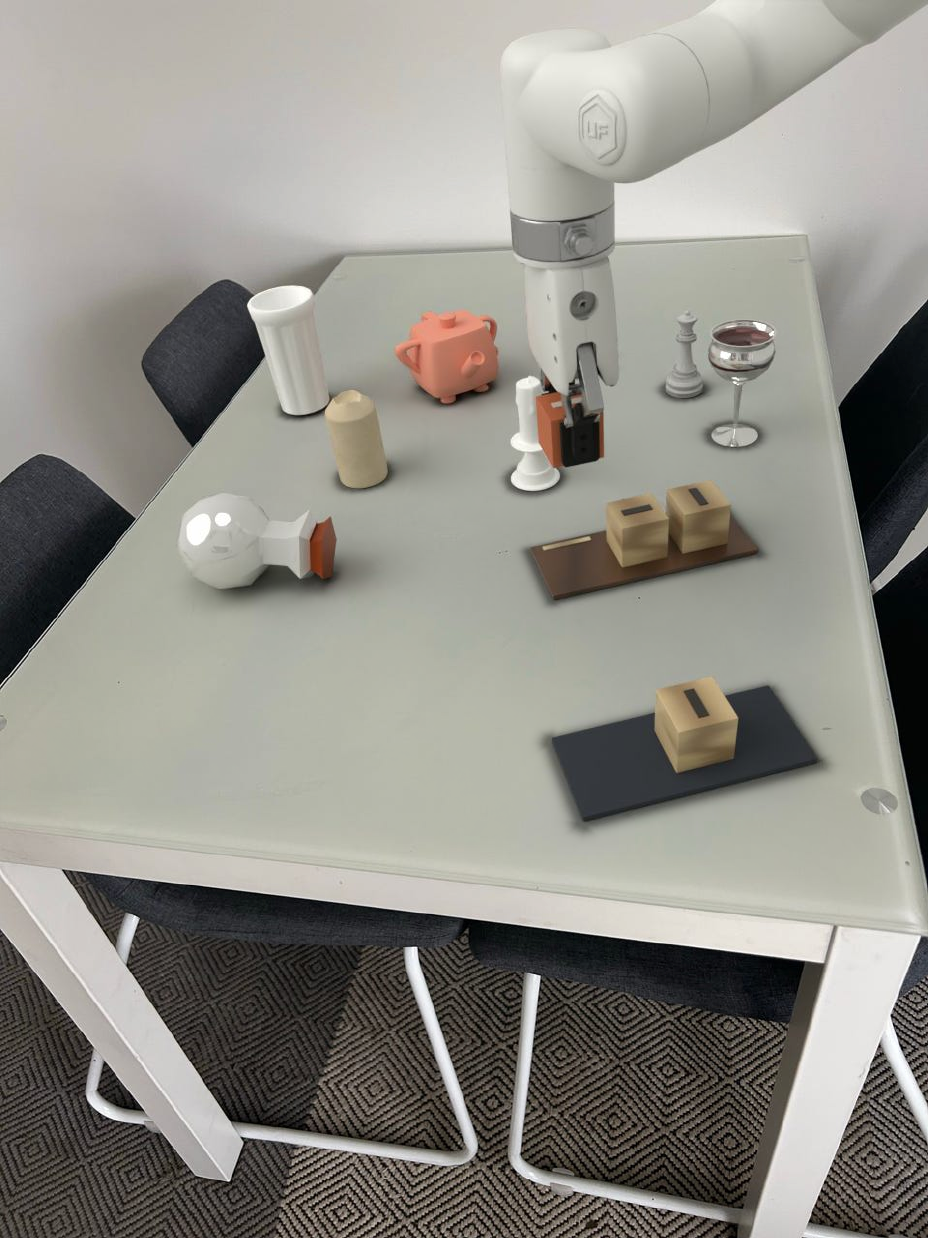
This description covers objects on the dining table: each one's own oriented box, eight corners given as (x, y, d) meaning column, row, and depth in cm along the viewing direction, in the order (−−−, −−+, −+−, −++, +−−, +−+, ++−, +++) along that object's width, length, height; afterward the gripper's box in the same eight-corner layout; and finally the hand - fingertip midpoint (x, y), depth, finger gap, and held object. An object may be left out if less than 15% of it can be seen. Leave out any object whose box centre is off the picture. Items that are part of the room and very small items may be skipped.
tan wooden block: (708, 518, 92) (711, 478, 89) (727, 543, 89) (731, 503, 86) (664, 527, 92) (666, 488, 89) (682, 554, 88) (684, 513, 85)
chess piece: (708, 394, 111) (713, 313, 105) (673, 401, 111) (676, 321, 105) (694, 378, 115) (698, 299, 108) (660, 385, 114) (662, 306, 108)
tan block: (709, 716, 73) (712, 674, 70) (734, 759, 69) (738, 717, 66) (654, 730, 72) (655, 688, 69) (676, 773, 69) (678, 731, 66)
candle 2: (522, 462, 105) (514, 362, 97) (567, 468, 103) (562, 367, 95) (503, 487, 101) (493, 386, 93) (549, 495, 99) (542, 392, 91)
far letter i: (650, 531, 92) (651, 491, 89) (667, 557, 88) (669, 517, 85) (606, 541, 91) (605, 501, 88) (622, 567, 88) (621, 527, 85)
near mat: (767, 689, 75) (768, 684, 74) (817, 762, 69) (818, 758, 68) (551, 741, 73) (551, 737, 73) (583, 821, 67) (582, 817, 67)
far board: (722, 508, 94) (722, 503, 94) (757, 553, 88) (758, 548, 87) (530, 551, 92) (530, 546, 92) (553, 600, 86) (553, 595, 86)
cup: (347, 407, 119) (323, 298, 110) (288, 428, 117) (259, 318, 108) (323, 384, 125) (298, 279, 116) (266, 404, 123) (237, 298, 113)
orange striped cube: (587, 432, 82) (586, 384, 79) (604, 457, 79) (603, 408, 76) (538, 442, 82) (535, 395, 79) (553, 468, 78) (550, 419, 75)
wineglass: (763, 453, 101) (774, 348, 93) (699, 448, 103) (705, 345, 95) (768, 421, 105) (780, 319, 97) (707, 418, 107) (713, 317, 100)
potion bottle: (195, 581, 97) (337, 592, 96) (156, 587, 87) (313, 600, 86) (199, 491, 96) (342, 502, 95) (160, 487, 86) (319, 499, 85)
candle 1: (386, 486, 104) (370, 405, 98) (337, 491, 104) (318, 411, 98) (390, 460, 108) (374, 381, 102) (343, 464, 109) (325, 386, 102)
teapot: (486, 413, 114) (478, 338, 108) (398, 405, 118) (385, 333, 112) (516, 369, 122) (510, 297, 116) (432, 363, 126) (422, 293, 120)
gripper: (654, 259, 62) (648, 489, 74) (576, 188, 75) (582, 394, 87) (545, 280, 62) (557, 509, 73) (486, 205, 74) (504, 411, 86)
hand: (571, 445), depth 80 cm, fingers closed on orange striped cube, 4 cm apart
